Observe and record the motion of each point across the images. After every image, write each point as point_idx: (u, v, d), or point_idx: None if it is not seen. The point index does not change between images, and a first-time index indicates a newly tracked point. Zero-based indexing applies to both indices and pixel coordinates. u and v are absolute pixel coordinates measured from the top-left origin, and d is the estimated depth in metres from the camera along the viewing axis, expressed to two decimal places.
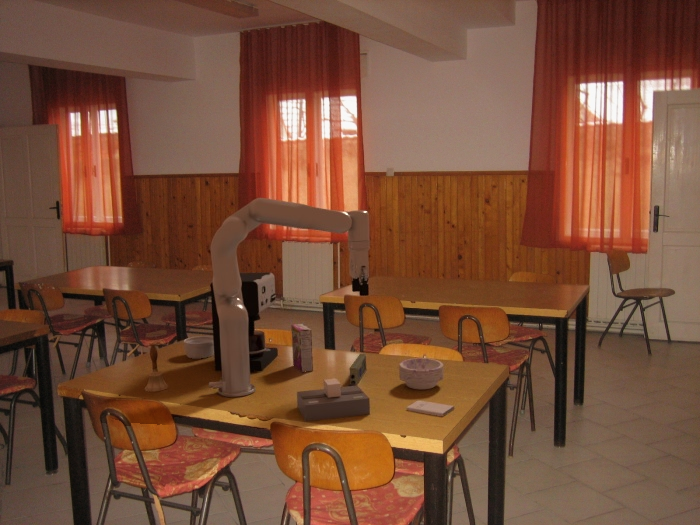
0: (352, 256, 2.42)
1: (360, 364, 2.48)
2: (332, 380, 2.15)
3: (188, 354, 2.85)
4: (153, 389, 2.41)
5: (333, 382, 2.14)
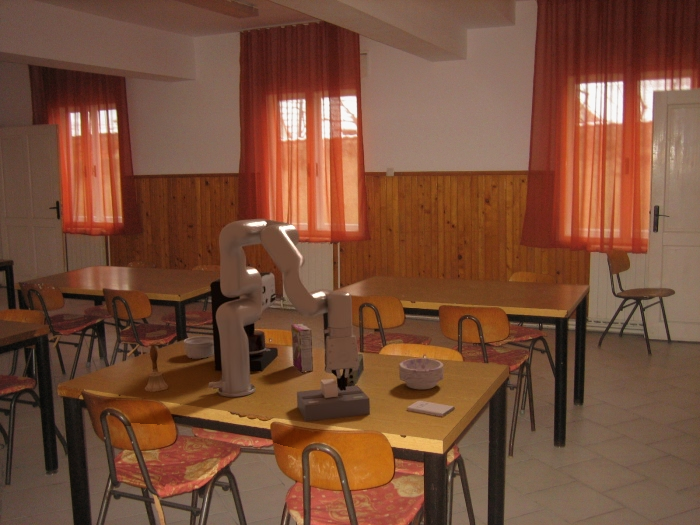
0: (346, 344, 2.11)
1: None
2: (329, 381, 2.15)
3: (188, 354, 2.85)
4: (153, 389, 2.41)
5: (330, 382, 2.13)
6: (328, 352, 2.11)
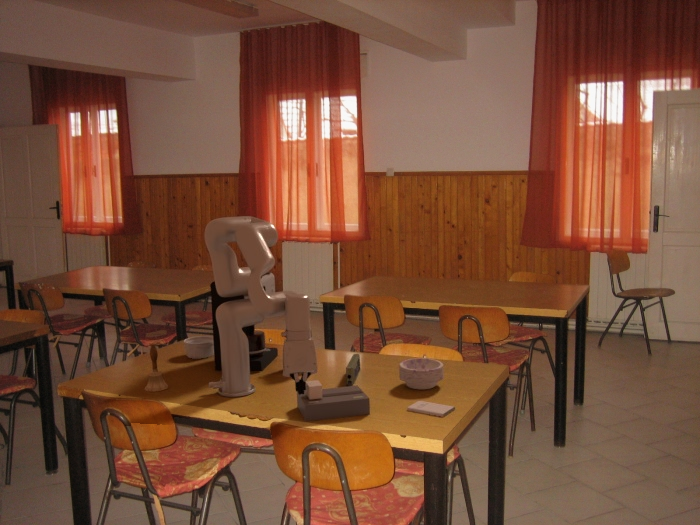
0: (303, 348, 2.08)
1: (355, 364, 2.48)
2: (314, 382, 2.14)
3: (188, 354, 2.85)
4: (153, 389, 2.41)
5: (315, 384, 2.12)
6: (285, 355, 2.07)
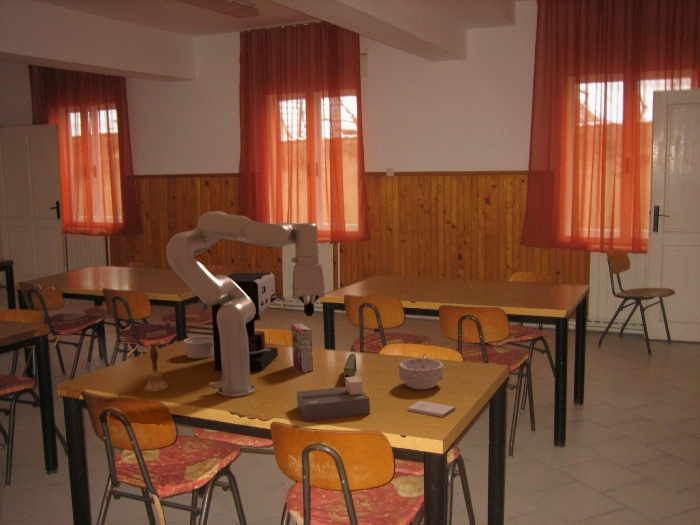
0: (312, 272, 2.25)
1: (353, 364, 2.48)
2: (354, 378, 2.17)
3: (188, 354, 2.85)
4: (153, 389, 2.41)
5: (355, 379, 2.15)
6: (295, 279, 2.24)
